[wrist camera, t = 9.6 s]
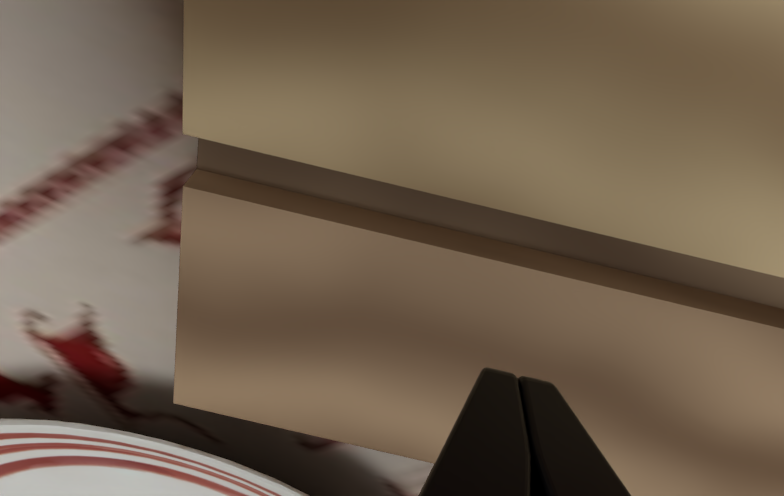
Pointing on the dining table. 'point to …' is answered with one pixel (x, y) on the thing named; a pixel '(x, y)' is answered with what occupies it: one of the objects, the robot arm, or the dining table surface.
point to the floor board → (468, 324)
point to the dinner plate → (116, 465)
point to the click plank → (518, 107)
